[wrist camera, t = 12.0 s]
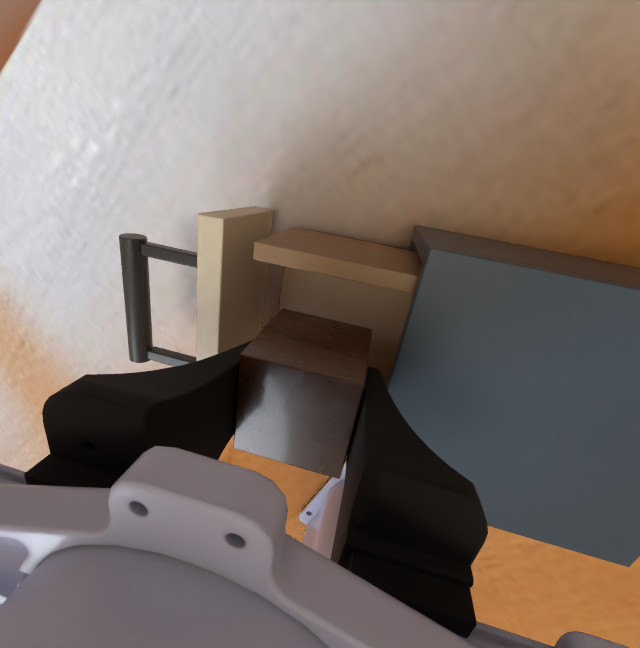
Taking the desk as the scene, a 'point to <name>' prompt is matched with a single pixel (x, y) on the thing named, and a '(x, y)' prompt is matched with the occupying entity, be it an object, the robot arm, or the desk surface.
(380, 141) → the desk surface
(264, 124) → the desk surface
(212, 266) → the drawer
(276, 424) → the block
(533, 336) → the cabinet
